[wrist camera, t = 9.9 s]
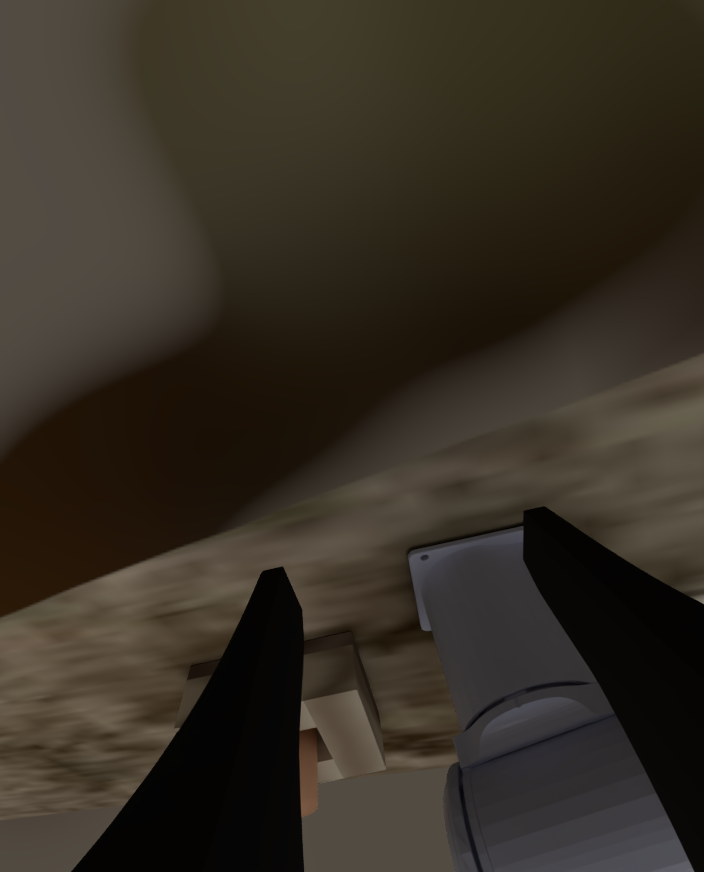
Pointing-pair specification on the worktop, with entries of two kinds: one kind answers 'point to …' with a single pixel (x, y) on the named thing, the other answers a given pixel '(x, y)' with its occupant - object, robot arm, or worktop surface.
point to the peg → (308, 771)
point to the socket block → (324, 707)
